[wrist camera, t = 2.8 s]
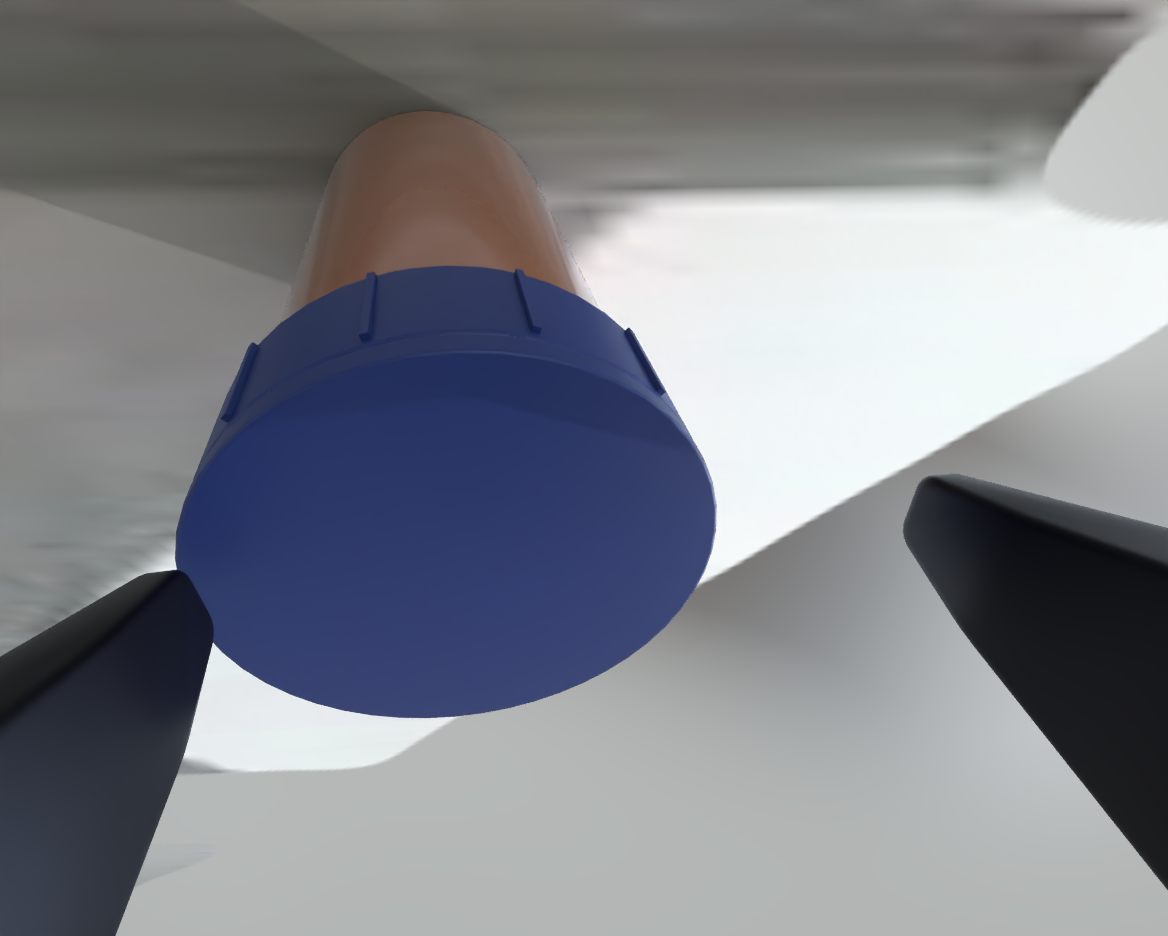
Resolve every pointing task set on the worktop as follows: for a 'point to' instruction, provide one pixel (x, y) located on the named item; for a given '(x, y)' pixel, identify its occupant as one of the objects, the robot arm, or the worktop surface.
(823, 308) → the worktop surface
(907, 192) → the worktop surface
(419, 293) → the jar lid
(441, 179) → the jar
